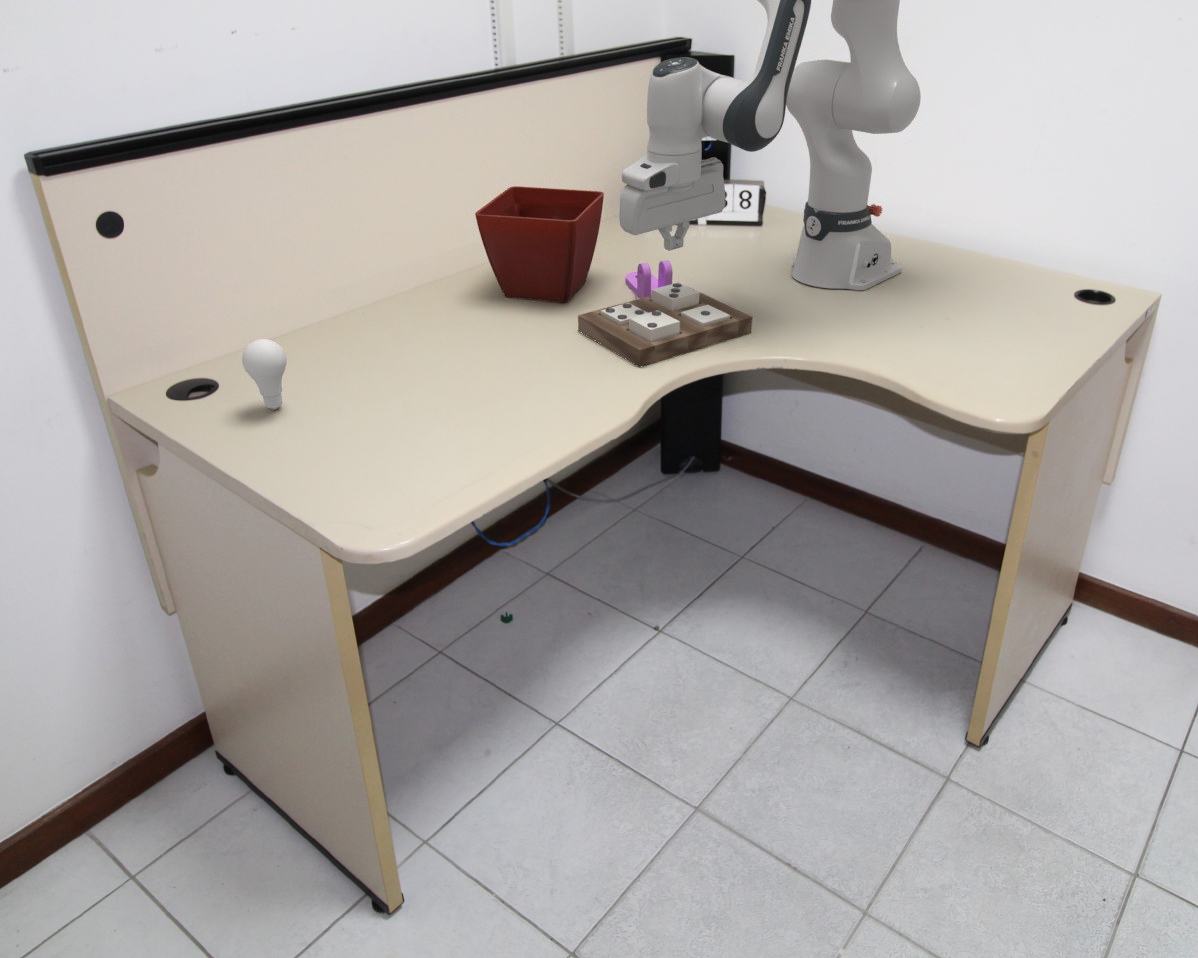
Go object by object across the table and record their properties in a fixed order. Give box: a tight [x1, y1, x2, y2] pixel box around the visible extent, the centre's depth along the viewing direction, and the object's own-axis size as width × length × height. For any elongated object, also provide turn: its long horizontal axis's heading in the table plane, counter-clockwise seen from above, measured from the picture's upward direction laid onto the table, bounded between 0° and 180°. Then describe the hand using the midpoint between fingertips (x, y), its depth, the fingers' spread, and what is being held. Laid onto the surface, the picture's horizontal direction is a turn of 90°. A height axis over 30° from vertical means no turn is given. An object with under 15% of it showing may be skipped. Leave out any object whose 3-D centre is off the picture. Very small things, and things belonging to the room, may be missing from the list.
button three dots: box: [651, 282, 700, 312], centre depth 170 cm, size 6×6×3 cm
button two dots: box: [629, 310, 680, 343], centre depth 159 cm, size 6×6×3 cm
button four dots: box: [601, 303, 647, 326], centre depth 166 cm, size 6×6×3 cm
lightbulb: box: [241, 338, 287, 411], centre depth 140 cm, size 6×6×11 cm
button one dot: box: [681, 305, 730, 327], centre depth 165 cm, size 6×6×3 cm
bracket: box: [624, 260, 673, 299], centre depth 182 cm, size 13×6×7 cm, turn 17°
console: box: [577, 286, 754, 368], centre depth 166 cm, size 24×18×3 cm
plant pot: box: [474, 185, 605, 303], centre depth 180 cm, size 19×19×17 cm
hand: (673, 248), depth 165 cm, fingers closed
